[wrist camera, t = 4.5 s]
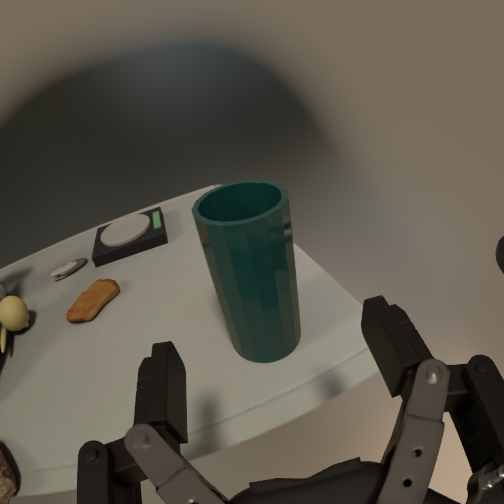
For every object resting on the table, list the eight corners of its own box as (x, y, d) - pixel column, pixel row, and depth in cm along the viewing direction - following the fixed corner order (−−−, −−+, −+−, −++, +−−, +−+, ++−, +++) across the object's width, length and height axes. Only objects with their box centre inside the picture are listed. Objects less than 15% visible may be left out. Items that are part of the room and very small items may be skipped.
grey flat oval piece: (86, 259, 43) (84, 253, 43) (90, 265, 42) (87, 259, 41) (52, 277, 40) (49, 270, 39) (54, 283, 38) (51, 277, 38)
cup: (284, 302, 30) (266, 172, 23) (312, 346, 25) (304, 204, 18) (224, 323, 29) (186, 196, 21) (244, 373, 24) (201, 236, 17)
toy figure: (-28, 353, 28) (-45, 325, 27) (8, 320, 36) (-7, 293, 34) (-3, 361, 25) (-25, 326, 23) (40, 320, 32) (23, 287, 31)
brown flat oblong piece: (68, 310, 34) (75, 337, 31) (58, 298, 33) (65, 325, 29) (115, 279, 37) (127, 304, 34) (107, 267, 35) (119, 291, 32)
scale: (162, 215, 50) (159, 203, 49) (168, 242, 42) (163, 229, 41) (101, 236, 48) (96, 225, 47) (96, 267, 40) (90, 255, 39)
